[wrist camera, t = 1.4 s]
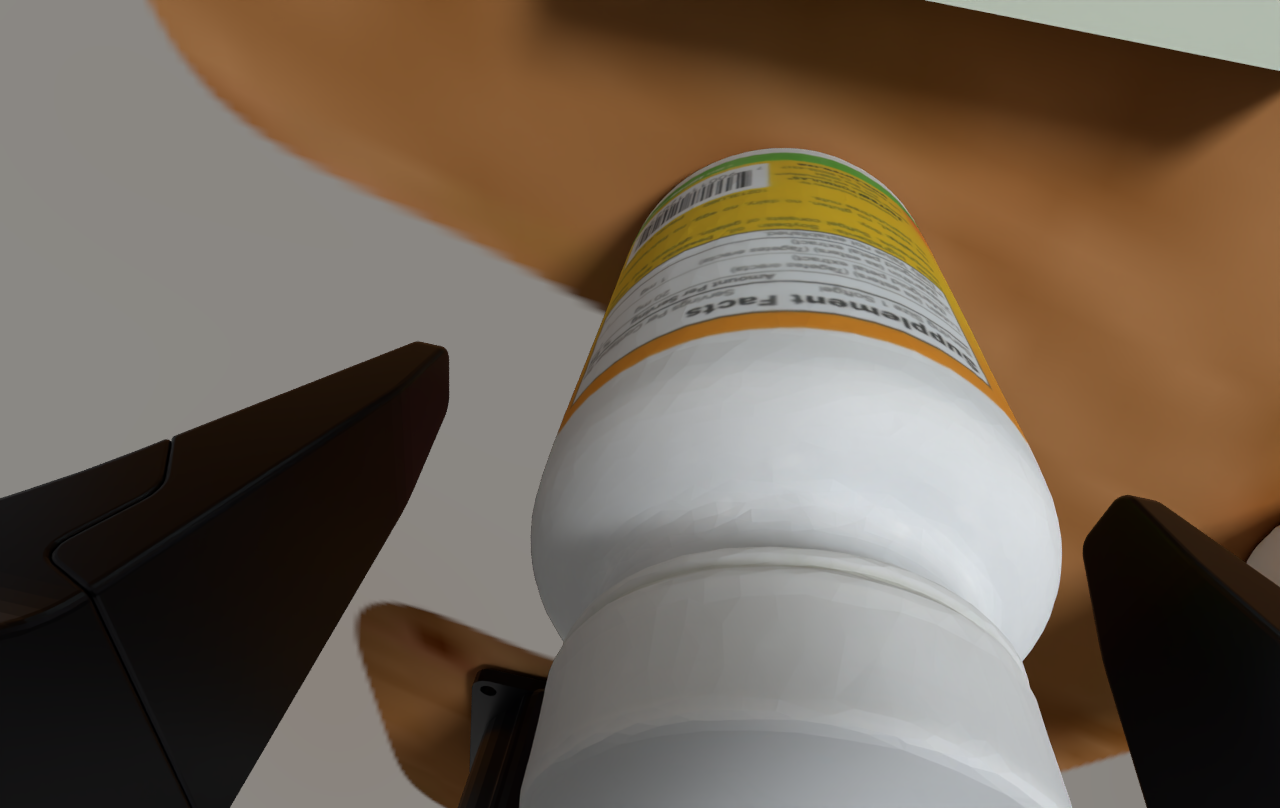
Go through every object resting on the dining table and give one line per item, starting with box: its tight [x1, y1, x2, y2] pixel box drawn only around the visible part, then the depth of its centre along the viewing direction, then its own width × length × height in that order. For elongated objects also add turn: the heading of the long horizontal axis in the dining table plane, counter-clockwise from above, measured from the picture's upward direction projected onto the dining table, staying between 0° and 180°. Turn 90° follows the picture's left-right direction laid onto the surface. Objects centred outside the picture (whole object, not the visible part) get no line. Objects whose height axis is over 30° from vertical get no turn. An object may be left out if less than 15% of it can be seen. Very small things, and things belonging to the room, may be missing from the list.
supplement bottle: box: [519, 148, 1072, 808], centre depth 9 cm, size 5×5×10 cm
